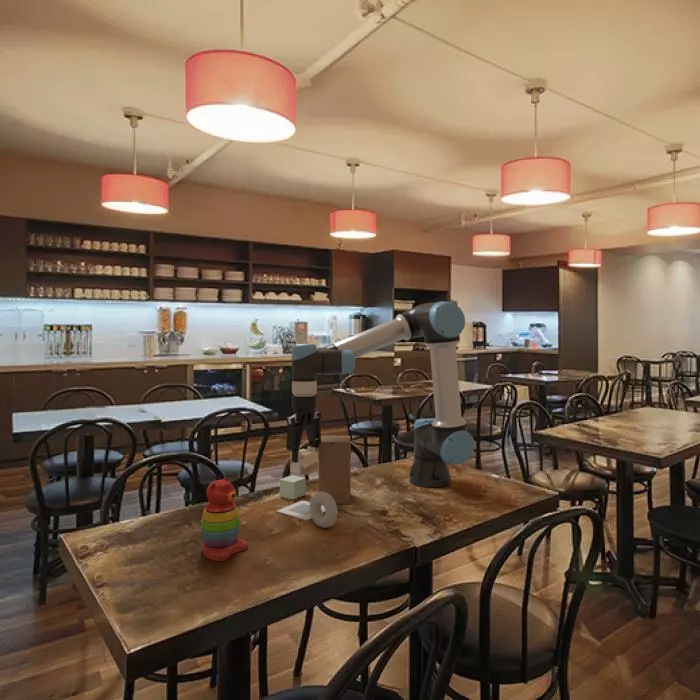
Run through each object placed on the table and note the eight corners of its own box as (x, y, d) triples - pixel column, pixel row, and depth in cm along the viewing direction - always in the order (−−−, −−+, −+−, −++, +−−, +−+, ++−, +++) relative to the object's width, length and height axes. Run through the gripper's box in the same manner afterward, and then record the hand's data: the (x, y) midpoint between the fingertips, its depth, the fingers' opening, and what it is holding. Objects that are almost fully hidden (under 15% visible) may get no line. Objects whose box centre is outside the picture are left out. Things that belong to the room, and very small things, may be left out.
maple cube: (318, 470, 160) (318, 451, 160) (305, 475, 155) (305, 455, 155) (303, 467, 163) (303, 448, 163) (290, 471, 158) (290, 452, 158)
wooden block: (349, 504, 165) (350, 441, 164) (318, 504, 166) (318, 441, 165) (350, 494, 175) (350, 435, 174) (320, 494, 176) (320, 435, 175)
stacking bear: (220, 563, 124) (219, 489, 123) (190, 553, 129) (190, 482, 128) (251, 547, 133) (251, 478, 132) (223, 538, 138) (222, 472, 137)
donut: (340, 530, 144) (340, 494, 144) (331, 533, 142) (331, 497, 141) (315, 520, 151) (315, 486, 151) (306, 524, 149) (306, 489, 148)
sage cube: (305, 495, 174) (305, 478, 174) (293, 500, 169) (293, 482, 169) (292, 492, 177) (292, 475, 177) (279, 497, 173) (279, 479, 172)
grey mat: (332, 509, 161) (332, 507, 161) (306, 520, 151) (306, 519, 151) (302, 501, 168) (302, 500, 168) (276, 512, 158) (276, 510, 158)
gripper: (314, 390, 168) (314, 461, 169) (273, 396, 153) (273, 475, 154) (333, 392, 164) (333, 465, 165) (292, 399, 148) (292, 479, 149)
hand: (304, 470), depth 159 cm, fingers closed on maple cube, 6 cm apart
